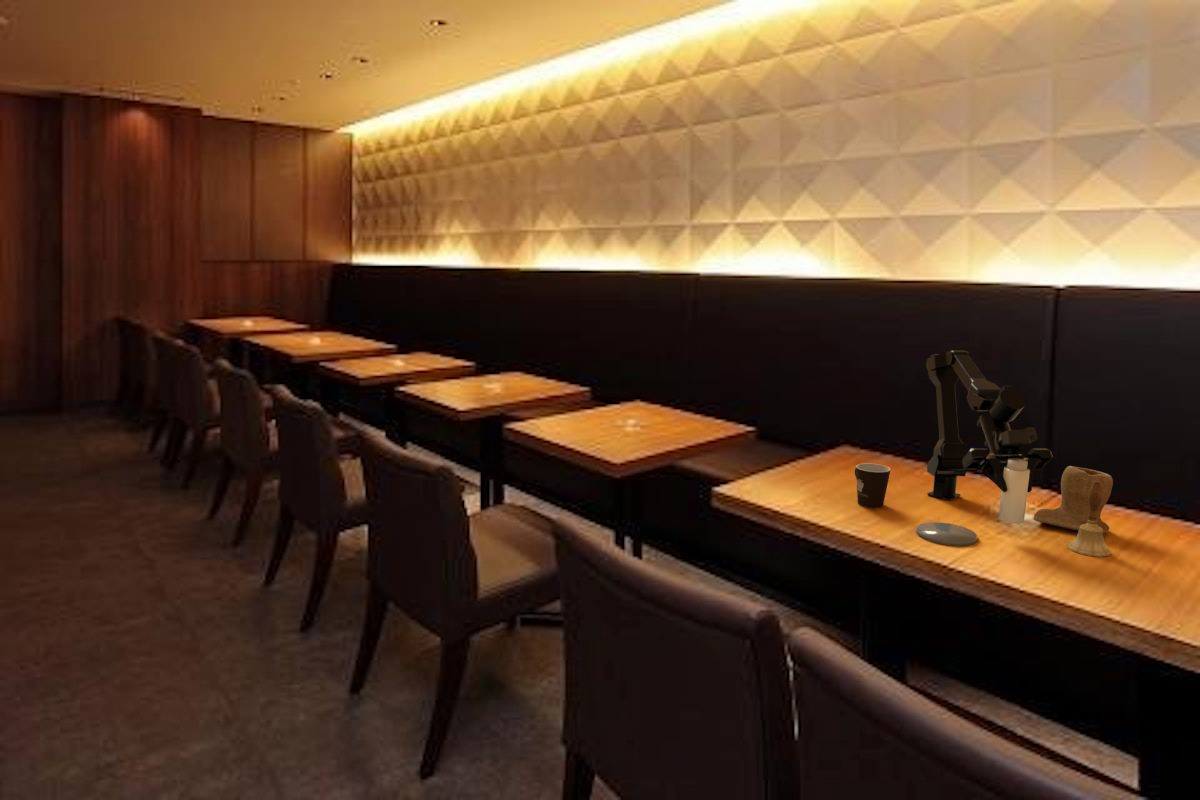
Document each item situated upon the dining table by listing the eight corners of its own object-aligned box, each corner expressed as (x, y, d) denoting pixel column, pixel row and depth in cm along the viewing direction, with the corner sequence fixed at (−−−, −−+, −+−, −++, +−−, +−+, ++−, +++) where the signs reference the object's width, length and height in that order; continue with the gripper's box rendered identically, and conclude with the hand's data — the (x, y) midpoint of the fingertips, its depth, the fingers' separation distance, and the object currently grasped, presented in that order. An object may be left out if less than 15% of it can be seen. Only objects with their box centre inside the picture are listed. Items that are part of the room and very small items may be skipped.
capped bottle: (1004, 514, 184) (1010, 456, 182) (1027, 519, 180) (1034, 460, 178) (994, 518, 181) (1001, 459, 178) (1018, 524, 177) (1025, 464, 174)
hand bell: (1059, 543, 180) (1067, 476, 177) (1093, 543, 181) (1102, 476, 178) (1083, 557, 172) (1092, 487, 169) (1119, 556, 173) (1129, 486, 170)
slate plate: (932, 522, 194) (932, 518, 193) (986, 537, 184) (986, 532, 184) (905, 534, 185) (906, 530, 185) (960, 550, 176) (961, 545, 175)
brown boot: (1113, 528, 191) (1121, 468, 188) (1104, 541, 182) (1112, 478, 179) (1043, 514, 201) (1050, 457, 198) (1031, 526, 192) (1038, 466, 189)
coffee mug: (890, 510, 203) (893, 473, 201) (855, 508, 204) (857, 471, 202) (883, 497, 214) (886, 461, 212) (850, 495, 215) (852, 459, 214)
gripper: (972, 414, 180) (992, 474, 171) (1053, 414, 180) (1077, 474, 171) (953, 439, 189) (971, 497, 180) (1030, 439, 189) (1051, 497, 181)
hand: (1017, 491), depth 178 cm, fingers closed on capped bottle, 5 cm apart
